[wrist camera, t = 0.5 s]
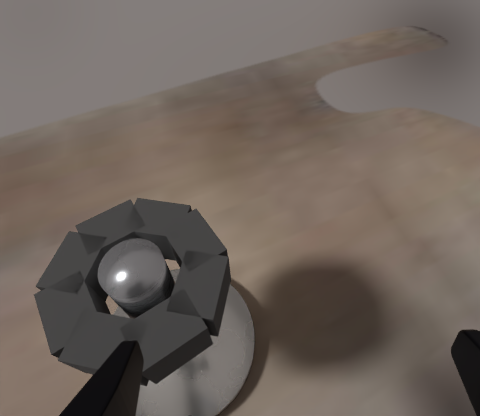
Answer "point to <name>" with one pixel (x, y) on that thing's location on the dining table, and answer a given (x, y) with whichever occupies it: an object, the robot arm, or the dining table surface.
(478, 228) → the dining table surface
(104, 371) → the robot arm
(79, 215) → the dining table surface
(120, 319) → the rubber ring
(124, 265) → the pipe stand
